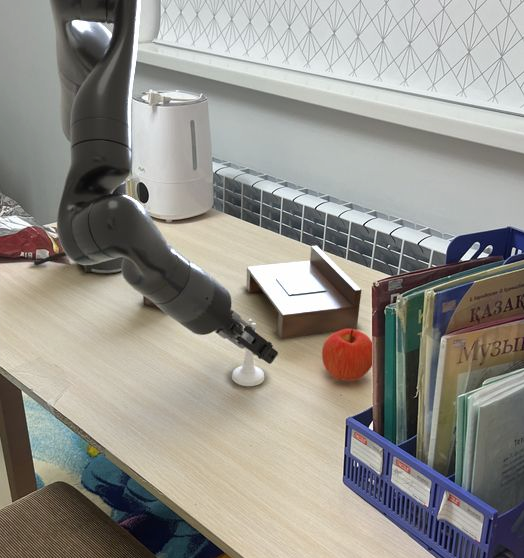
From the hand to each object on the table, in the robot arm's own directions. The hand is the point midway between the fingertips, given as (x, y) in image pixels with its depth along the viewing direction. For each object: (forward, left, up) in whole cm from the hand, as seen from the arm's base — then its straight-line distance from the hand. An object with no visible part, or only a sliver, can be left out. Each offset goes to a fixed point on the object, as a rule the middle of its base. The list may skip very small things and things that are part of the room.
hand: (255, 345), depth 104 cm
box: (-8, +28, -5) cm, 29 cm away
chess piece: (-1, 0, -5) cm, 6 cm away
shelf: (+15, +20, -5) cm, 25 cm away
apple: (+14, -3, -5) cm, 15 cm away
